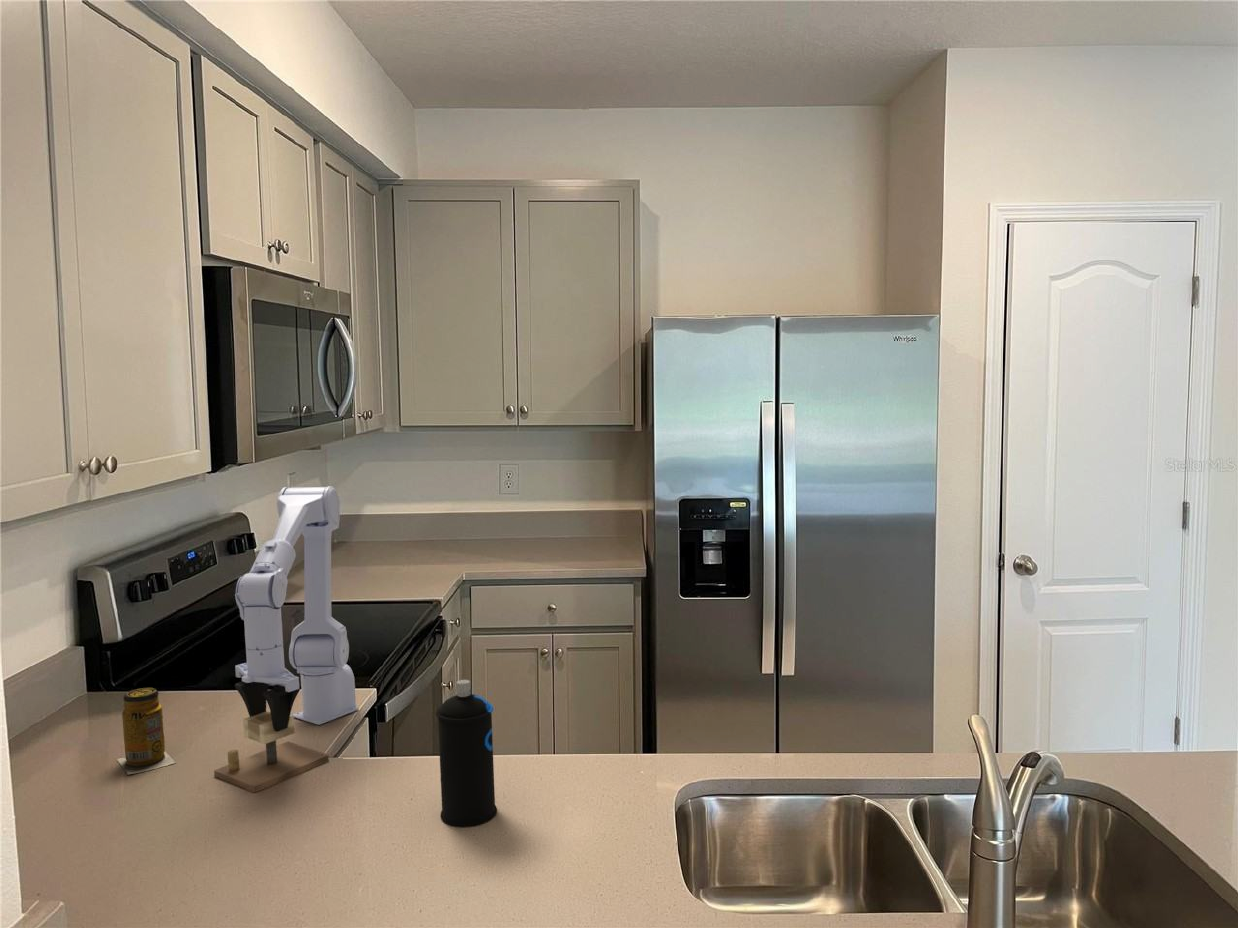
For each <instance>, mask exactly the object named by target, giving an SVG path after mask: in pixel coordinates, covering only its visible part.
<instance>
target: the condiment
mask: <svg viewBox="0 0 1238 928" xmlns="http://www.w3.org/2000/svg"><path fill="white" fill-rule="evenodd" d="M123 708H124V709H123V710H122V713H121V716H122V731H123V743H124V744H123V745H124V754H125V755H124V756H125V757H121V758H117V759H116V761H117V762H118V763H119V765H120V766H121V767H122V769H123V770H124V772H126V774H127V775H132V774H134V775H135V774H138V773H142V772H147V771H151V770H154V769H155V770H157V769H159V768H163V767H166V766H169V765H173V764H176V762H175V760H174V758H172V756H170V755H169V753H167V751H166V750H165V749H166V744H165V742H166V741H165V733H164V720H163V718H164V717H163V707H162V704H160V698H159V691H158V689H157V688H153V687H143V688H137V689H132V690H129V691H128V692H127V693H125V694H124V696H123Z"/></svg>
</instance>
